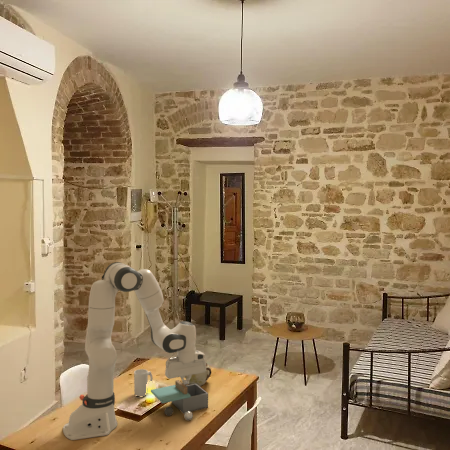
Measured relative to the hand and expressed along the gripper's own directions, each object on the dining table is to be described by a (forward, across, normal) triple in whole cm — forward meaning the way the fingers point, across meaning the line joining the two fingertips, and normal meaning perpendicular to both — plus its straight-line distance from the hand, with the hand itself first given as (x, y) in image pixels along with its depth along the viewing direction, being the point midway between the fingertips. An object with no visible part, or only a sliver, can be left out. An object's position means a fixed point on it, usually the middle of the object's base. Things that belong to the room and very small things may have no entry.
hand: (185, 384), depth 229 cm
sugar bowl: (+11, +18, +22) cm, 30 cm away
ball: (+11, -11, -5) cm, 16 cm away
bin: (+11, +2, 0) cm, 11 cm away
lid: (+4, -8, 0) cm, 8 cm away
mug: (+11, -12, +22) cm, 28 cm away
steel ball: (+11, -5, -13) cm, 18 cm away
